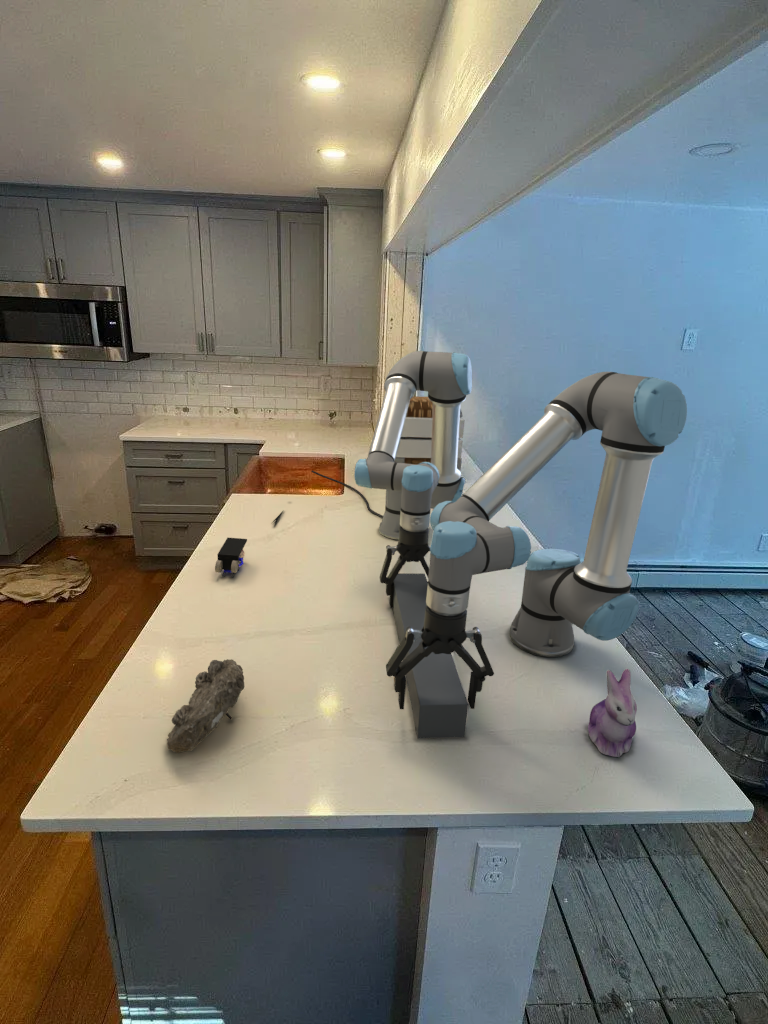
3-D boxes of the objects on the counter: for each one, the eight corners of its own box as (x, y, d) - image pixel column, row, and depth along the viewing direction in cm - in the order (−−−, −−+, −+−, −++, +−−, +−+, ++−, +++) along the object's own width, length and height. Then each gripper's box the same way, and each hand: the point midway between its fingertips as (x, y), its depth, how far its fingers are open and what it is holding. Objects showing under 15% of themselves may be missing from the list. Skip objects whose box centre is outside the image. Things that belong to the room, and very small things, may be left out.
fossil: (192, 660, 117) (244, 628, 112) (224, 691, 120) (276, 661, 115) (142, 746, 98) (202, 712, 93) (182, 779, 101) (242, 748, 96)
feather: (290, 505, 227) (293, 501, 226) (273, 528, 200) (276, 524, 200) (286, 502, 226) (289, 498, 226) (269, 525, 200) (272, 521, 199)
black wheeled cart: (238, 584, 162) (249, 557, 175) (236, 562, 158) (247, 536, 172) (215, 584, 161) (227, 556, 175) (212, 561, 158) (225, 535, 171)
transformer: (382, 463, 289) (386, 382, 275) (445, 464, 293) (451, 384, 279) (390, 482, 257) (394, 392, 243) (460, 483, 261) (468, 394, 247)
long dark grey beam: (390, 598, 155) (392, 573, 153) (423, 598, 156) (424, 573, 154) (417, 738, 105) (419, 705, 102) (464, 737, 106) (468, 704, 103)
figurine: (615, 767, 100) (631, 697, 95) (572, 730, 109) (585, 664, 103) (651, 751, 104) (668, 682, 99) (607, 716, 113) (621, 652, 108)
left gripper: (372, 532, 139) (369, 612, 146) (459, 533, 141) (452, 612, 148) (370, 521, 146) (367, 598, 154) (453, 522, 148) (446, 598, 155)
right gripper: (378, 616, 97) (372, 718, 104) (520, 617, 100) (504, 717, 107) (376, 595, 104) (370, 692, 111) (508, 597, 107) (494, 691, 114)
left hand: (409, 605), depth 151 cm, fingers closed on long dark grey beam, 9 cm apart
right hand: (436, 704), depth 109 cm, fingers open, 13 cm apart
